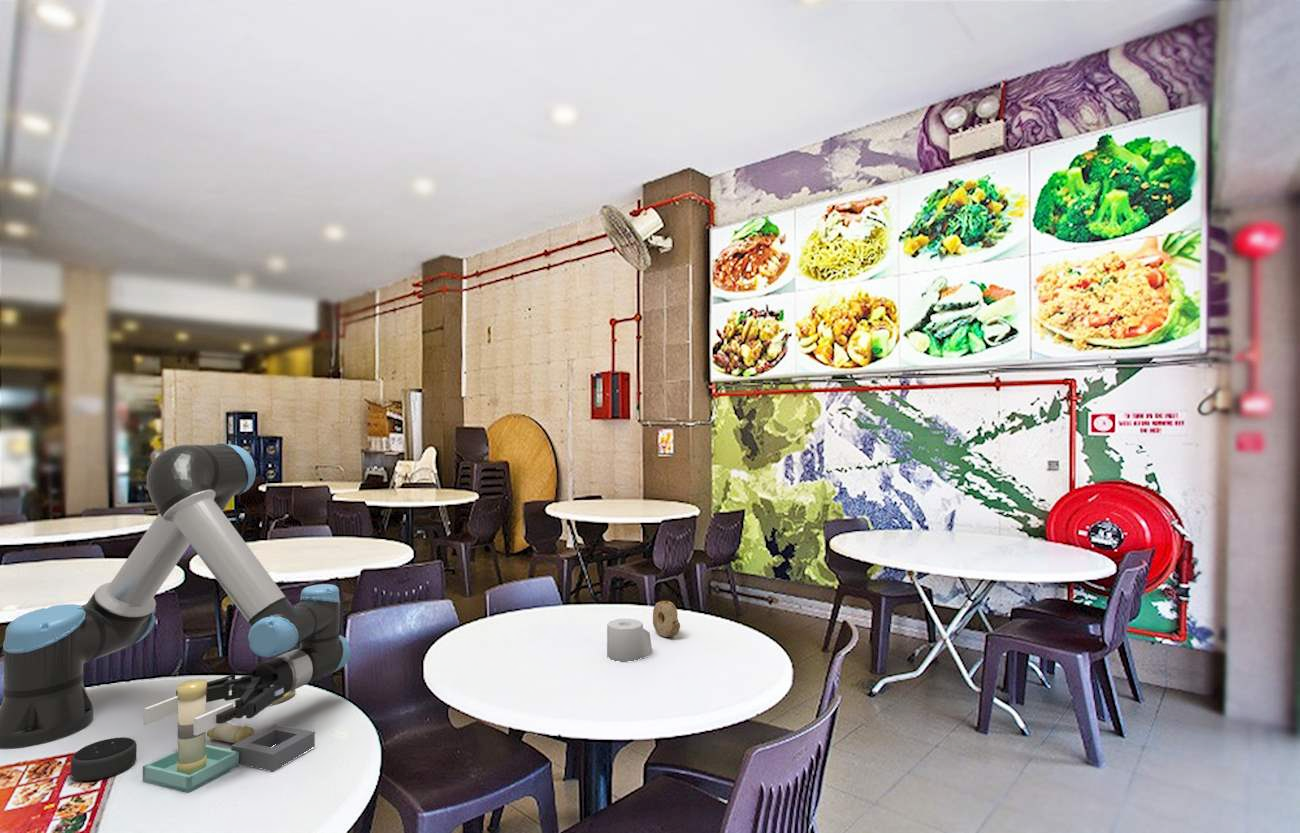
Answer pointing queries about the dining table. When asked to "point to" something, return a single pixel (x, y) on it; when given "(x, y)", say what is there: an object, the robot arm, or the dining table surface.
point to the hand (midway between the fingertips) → (169, 721)
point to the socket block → (286, 749)
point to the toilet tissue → (627, 640)
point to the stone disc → (665, 619)
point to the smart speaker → (103, 759)
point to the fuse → (230, 732)
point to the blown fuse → (191, 726)
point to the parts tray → (216, 766)
